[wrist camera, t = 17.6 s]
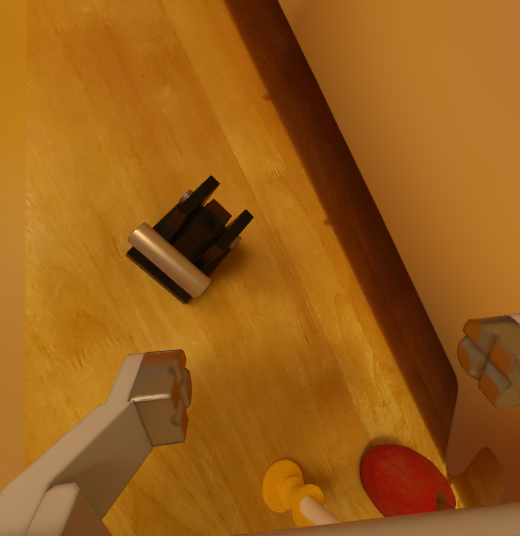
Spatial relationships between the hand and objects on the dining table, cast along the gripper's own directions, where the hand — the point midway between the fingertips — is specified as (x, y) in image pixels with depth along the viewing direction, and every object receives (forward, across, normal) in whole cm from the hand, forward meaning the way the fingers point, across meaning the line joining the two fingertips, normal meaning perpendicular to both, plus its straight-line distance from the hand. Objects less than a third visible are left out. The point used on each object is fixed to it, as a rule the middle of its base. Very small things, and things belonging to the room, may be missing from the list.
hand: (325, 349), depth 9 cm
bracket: (+26, +9, +8) cm, 29 cm away
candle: (+12, +1, +32) cm, 35 cm away
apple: (+16, -11, +38) cm, 43 cm away
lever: (+15, +7, +3) cm, 17 cm away
